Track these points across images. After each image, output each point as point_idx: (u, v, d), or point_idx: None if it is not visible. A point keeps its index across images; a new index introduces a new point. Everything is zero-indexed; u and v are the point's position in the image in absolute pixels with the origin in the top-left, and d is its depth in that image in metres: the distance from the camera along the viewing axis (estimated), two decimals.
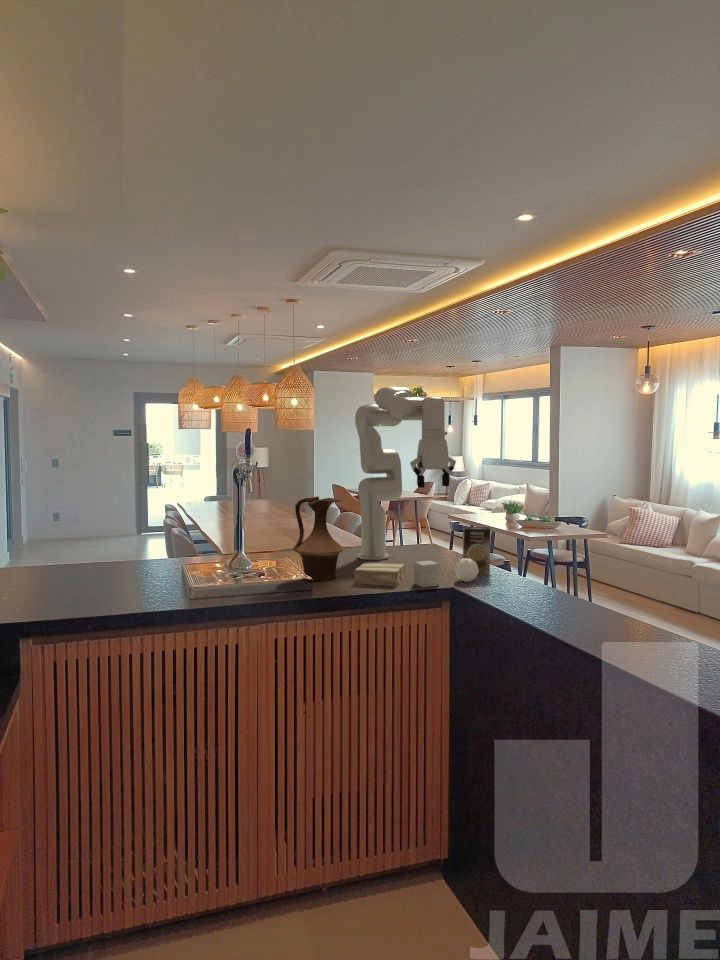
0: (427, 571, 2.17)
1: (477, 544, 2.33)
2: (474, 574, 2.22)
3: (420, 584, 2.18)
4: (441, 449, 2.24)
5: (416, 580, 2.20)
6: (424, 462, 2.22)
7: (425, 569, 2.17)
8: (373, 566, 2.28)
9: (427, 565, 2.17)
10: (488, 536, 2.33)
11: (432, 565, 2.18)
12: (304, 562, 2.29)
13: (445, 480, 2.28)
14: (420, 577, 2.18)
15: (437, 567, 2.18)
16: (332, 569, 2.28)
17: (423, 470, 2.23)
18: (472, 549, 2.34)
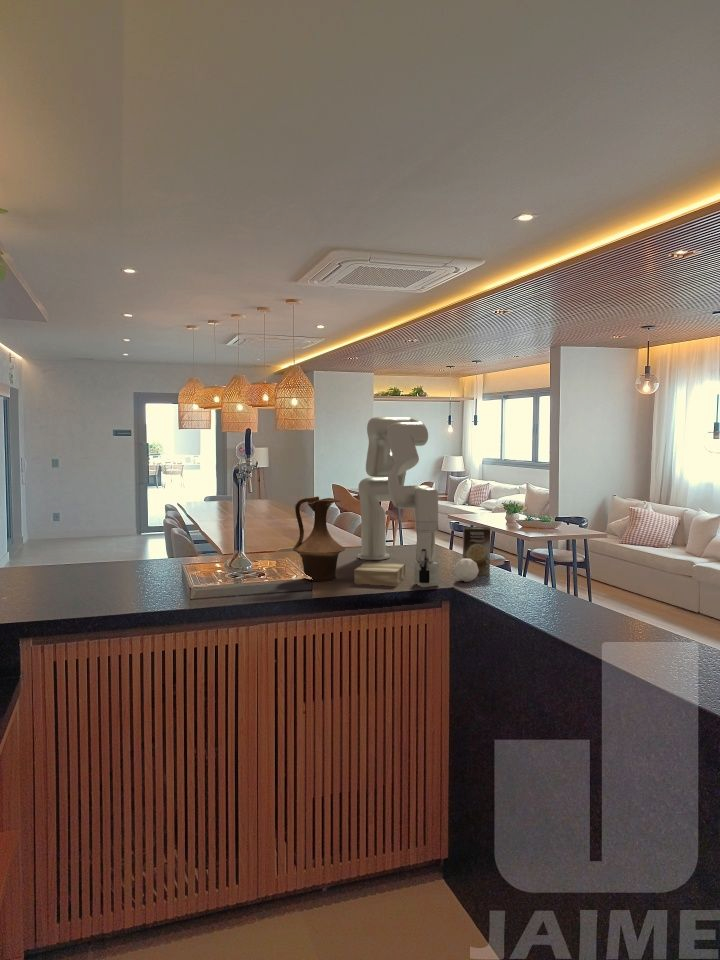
0: None
1: (477, 544, 2.33)
2: (474, 574, 2.22)
3: (420, 584, 2.18)
4: (434, 540, 2.21)
5: (416, 580, 2.20)
6: (429, 556, 2.15)
7: None
8: (373, 566, 2.28)
9: None
10: (488, 536, 2.33)
11: (432, 565, 2.18)
12: (304, 562, 2.29)
13: None
14: None
15: (437, 567, 2.18)
16: (332, 569, 2.28)
17: (428, 565, 2.16)
18: (472, 549, 2.34)
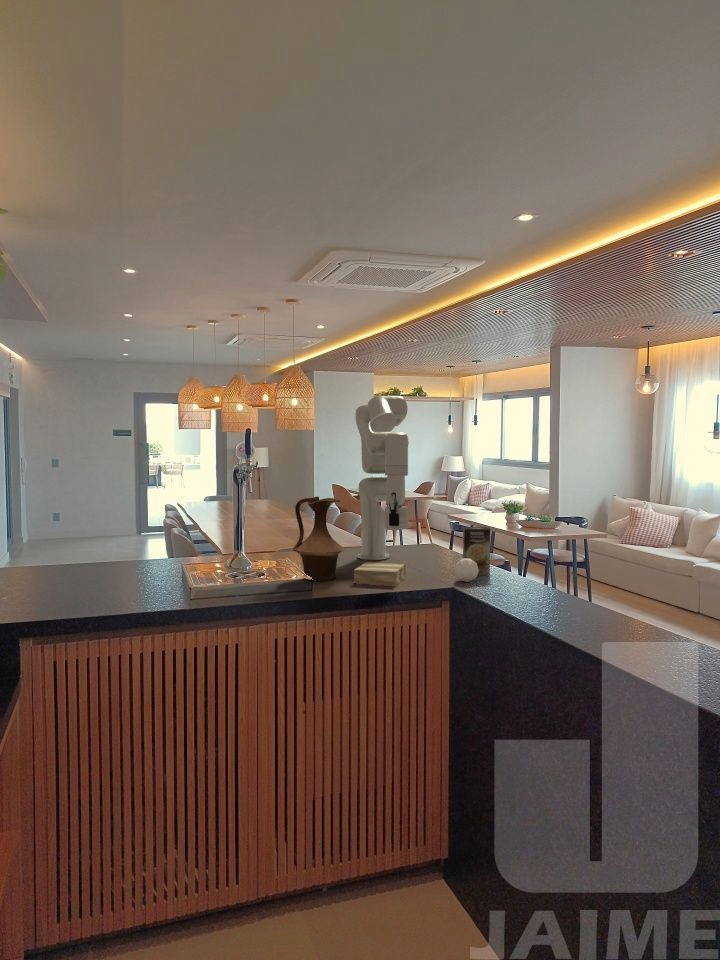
0: None
1: (477, 544, 2.33)
2: (474, 574, 2.22)
3: (390, 527, 2.22)
4: (404, 485, 2.24)
5: (387, 524, 2.24)
6: (399, 499, 2.18)
7: None
8: (373, 566, 2.28)
9: None
10: (488, 536, 2.33)
11: (402, 508, 2.21)
12: (304, 562, 2.29)
13: None
14: None
15: (407, 511, 2.22)
16: (332, 569, 2.28)
17: (398, 508, 2.19)
18: (472, 549, 2.34)
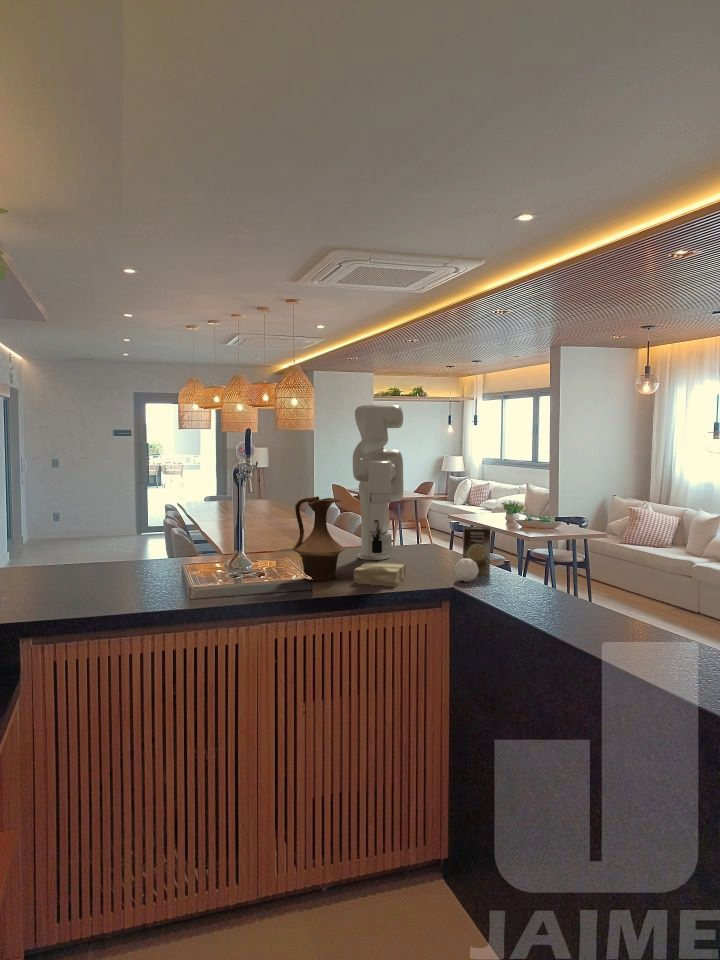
0: None
1: (477, 544, 2.33)
2: (474, 574, 2.22)
3: (373, 554, 2.24)
4: (388, 512, 2.27)
5: (370, 550, 2.27)
6: (382, 527, 2.21)
7: None
8: (373, 566, 2.28)
9: None
10: (488, 536, 2.33)
11: (385, 536, 2.24)
12: (304, 562, 2.29)
13: None
14: None
15: (390, 538, 2.25)
16: (332, 569, 2.28)
17: (380, 535, 2.22)
18: (472, 549, 2.34)
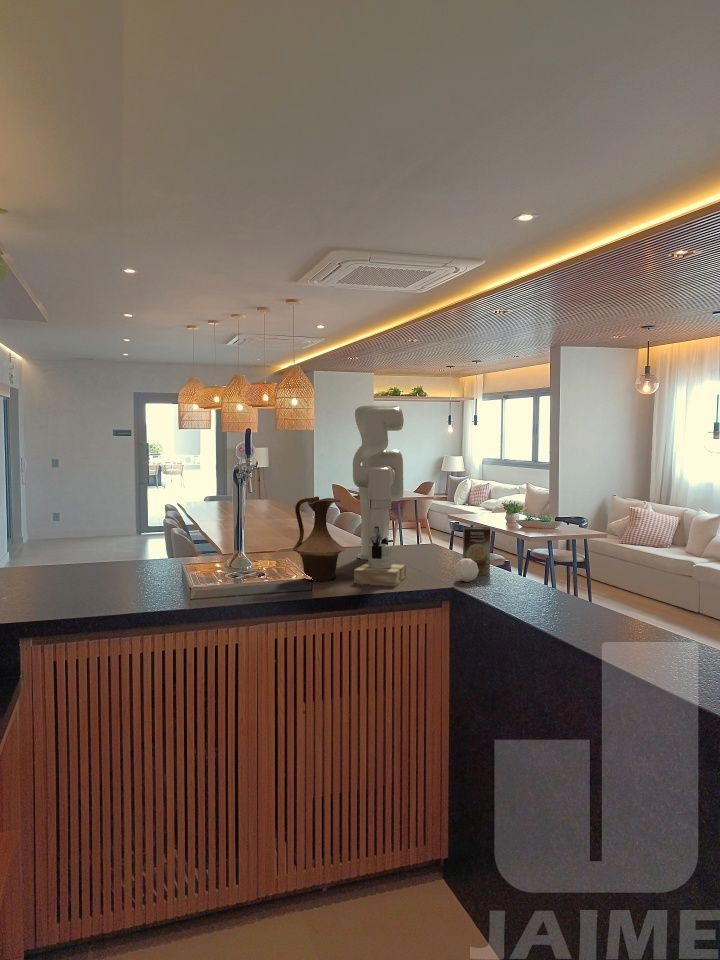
0: None
1: (477, 544, 2.33)
2: (474, 574, 2.22)
3: (373, 566, 2.25)
4: (388, 518, 2.27)
5: (370, 562, 2.27)
6: (382, 533, 2.21)
7: None
8: None
9: None
10: (488, 536, 2.33)
11: (385, 547, 2.25)
12: (304, 562, 2.29)
13: None
14: (373, 560, 2.25)
15: (390, 550, 2.25)
16: (332, 569, 2.28)
17: (380, 541, 2.22)
18: (472, 549, 2.34)
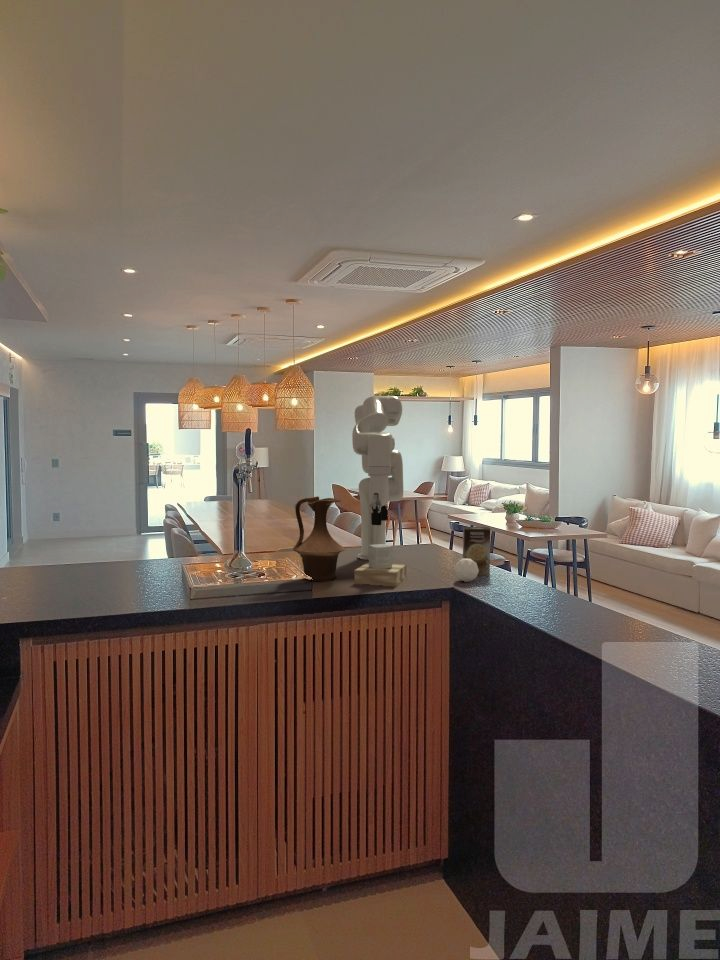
0: (381, 554, 2.24)
1: (477, 544, 2.33)
2: (474, 574, 2.22)
3: (374, 566, 2.25)
4: (387, 485, 2.27)
5: (370, 562, 2.27)
6: (381, 500, 2.21)
7: (378, 552, 2.23)
8: None
9: (381, 548, 2.24)
10: (488, 536, 2.33)
11: (385, 548, 2.24)
12: (304, 562, 2.29)
13: (384, 515, 2.31)
14: (373, 560, 2.25)
15: (390, 550, 2.25)
16: (332, 569, 2.28)
17: (380, 507, 2.21)
18: (472, 549, 2.34)
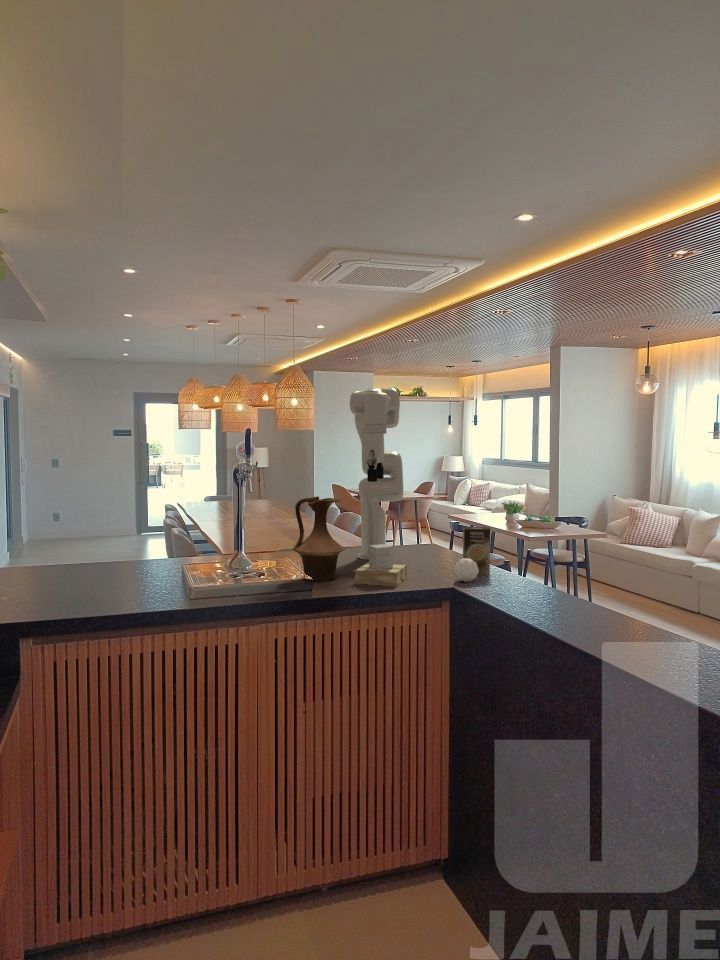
0: (381, 554, 2.24)
1: (477, 544, 2.33)
2: (474, 574, 2.22)
3: (375, 566, 2.24)
4: (383, 443, 2.32)
5: (371, 563, 2.27)
6: (377, 456, 2.26)
7: (379, 552, 2.23)
8: None
9: (381, 548, 2.24)
10: (488, 536, 2.33)
11: (386, 548, 2.24)
12: (304, 562, 2.29)
13: (379, 473, 2.36)
14: (374, 560, 2.24)
15: (391, 550, 2.25)
16: (332, 569, 2.28)
17: (376, 464, 2.27)
18: (472, 549, 2.34)
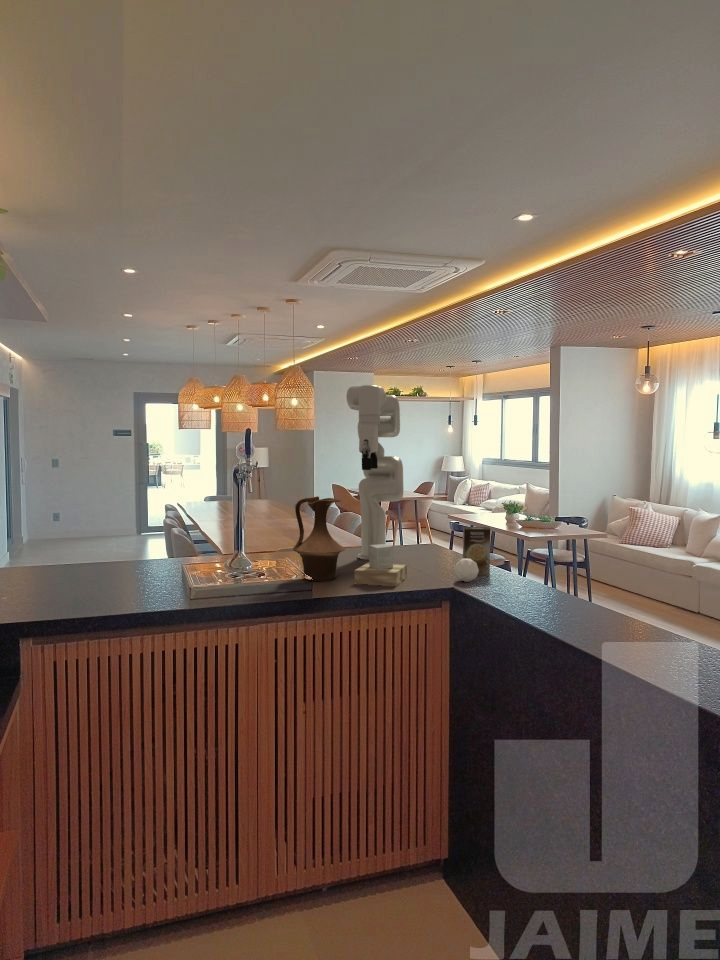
0: (382, 554, 2.24)
1: (477, 544, 2.33)
2: (474, 574, 2.22)
3: (375, 566, 2.24)
4: (377, 434, 2.41)
5: (371, 563, 2.27)
6: (371, 446, 2.36)
7: (379, 552, 2.23)
8: None
9: (382, 548, 2.24)
10: (488, 536, 2.33)
11: (386, 548, 2.24)
12: (304, 562, 2.29)
13: (374, 463, 2.45)
14: (375, 560, 2.24)
15: (391, 550, 2.25)
16: (332, 569, 2.28)
17: (370, 453, 2.36)
18: (472, 549, 2.34)
